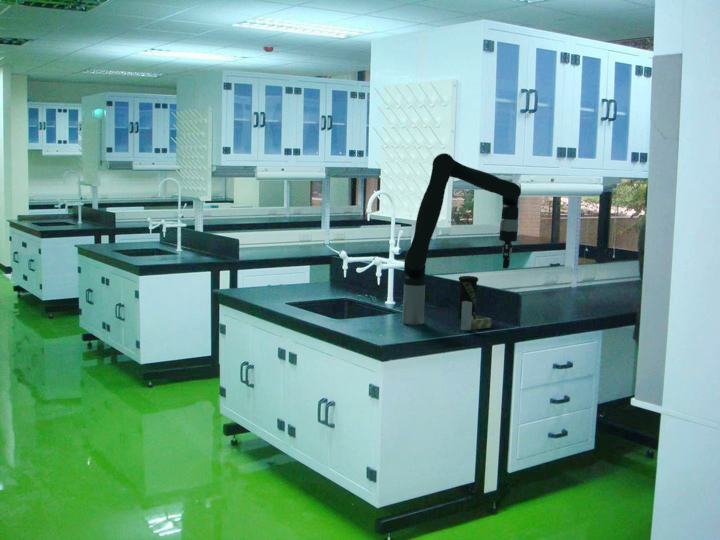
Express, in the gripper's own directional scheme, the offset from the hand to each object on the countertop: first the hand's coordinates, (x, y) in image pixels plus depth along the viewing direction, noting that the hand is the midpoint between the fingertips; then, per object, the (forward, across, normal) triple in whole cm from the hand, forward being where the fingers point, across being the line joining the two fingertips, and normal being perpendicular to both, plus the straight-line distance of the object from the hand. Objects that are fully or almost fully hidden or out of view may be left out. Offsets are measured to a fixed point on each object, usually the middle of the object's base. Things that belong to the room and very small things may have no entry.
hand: (506, 267), depth 326 cm
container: (+27, -13, -17) cm, 34 cm away
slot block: (+26, +5, -10) cm, 29 cm away
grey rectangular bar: (+27, +13, -14) cm, 33 cm away
